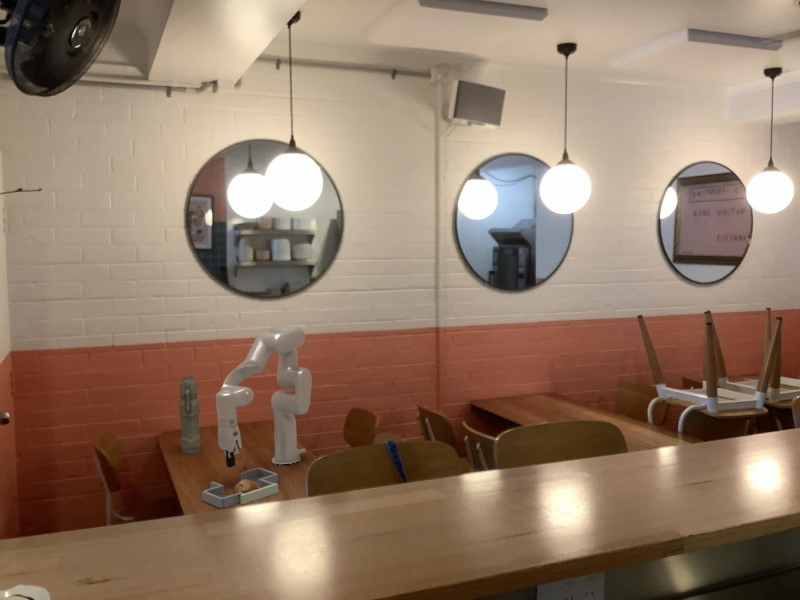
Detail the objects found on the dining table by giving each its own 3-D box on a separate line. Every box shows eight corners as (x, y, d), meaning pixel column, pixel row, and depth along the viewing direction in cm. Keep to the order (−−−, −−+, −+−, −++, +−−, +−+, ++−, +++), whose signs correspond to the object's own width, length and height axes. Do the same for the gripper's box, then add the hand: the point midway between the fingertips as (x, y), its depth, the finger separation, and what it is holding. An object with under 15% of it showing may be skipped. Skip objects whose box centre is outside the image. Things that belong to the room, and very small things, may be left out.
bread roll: (243, 499, 285) (234, 481, 285) (266, 489, 284) (257, 471, 284) (235, 509, 275) (226, 490, 275) (259, 498, 274) (249, 479, 274)
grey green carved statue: (181, 456, 330) (178, 380, 326) (180, 449, 341) (177, 375, 337) (202, 454, 332) (198, 379, 329) (200, 447, 344) (197, 374, 340)
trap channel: (259, 475, 302) (258, 467, 302) (293, 487, 287) (292, 478, 287) (192, 496, 279) (191, 487, 279) (225, 510, 264) (225, 501, 264)
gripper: (246, 422, 285) (249, 467, 288) (224, 416, 295) (228, 459, 298) (230, 427, 280) (234, 473, 282) (208, 421, 290) (212, 465, 292)
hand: (230, 466), depth 290 cm, fingers closed
